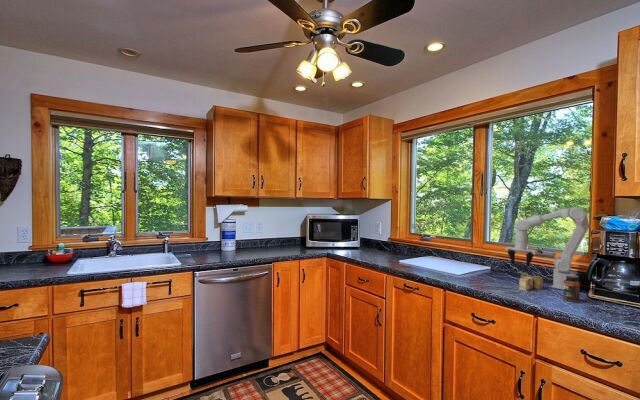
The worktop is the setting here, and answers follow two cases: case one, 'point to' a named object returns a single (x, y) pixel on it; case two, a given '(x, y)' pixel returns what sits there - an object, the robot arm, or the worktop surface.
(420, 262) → the worktop surface
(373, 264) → the worktop surface
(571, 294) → the supplement bottle
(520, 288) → the beige block
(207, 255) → the worktop surface
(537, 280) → the bracket
